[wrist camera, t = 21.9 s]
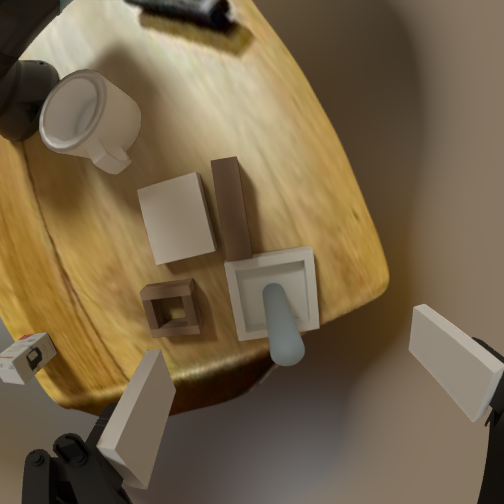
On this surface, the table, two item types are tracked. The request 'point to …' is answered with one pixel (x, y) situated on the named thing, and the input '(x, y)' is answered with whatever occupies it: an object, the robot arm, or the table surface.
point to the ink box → (26, 358)
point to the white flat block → (177, 218)
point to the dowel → (281, 327)
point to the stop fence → (231, 208)
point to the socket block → (155, 314)
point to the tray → (266, 272)
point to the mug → (90, 120)
